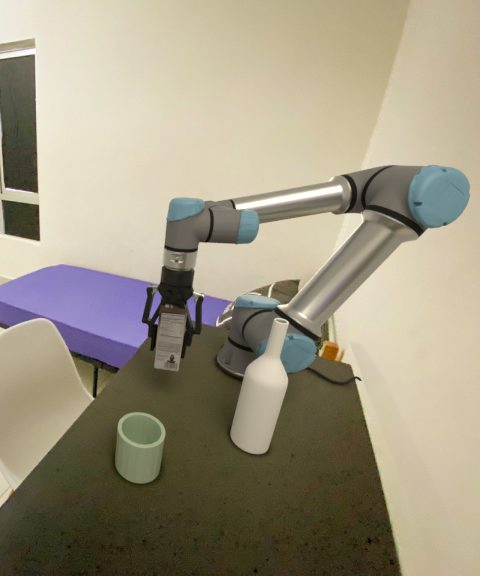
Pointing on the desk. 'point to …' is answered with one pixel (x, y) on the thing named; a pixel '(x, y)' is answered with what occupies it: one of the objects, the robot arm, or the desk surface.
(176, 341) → the coffee box
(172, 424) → the desk surface
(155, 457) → the cup
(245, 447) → the bottle
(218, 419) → the desk surface
